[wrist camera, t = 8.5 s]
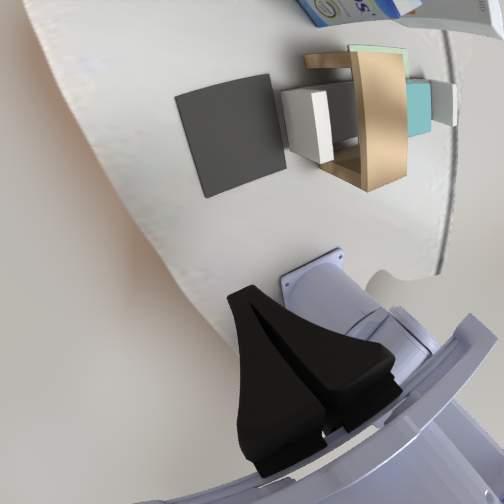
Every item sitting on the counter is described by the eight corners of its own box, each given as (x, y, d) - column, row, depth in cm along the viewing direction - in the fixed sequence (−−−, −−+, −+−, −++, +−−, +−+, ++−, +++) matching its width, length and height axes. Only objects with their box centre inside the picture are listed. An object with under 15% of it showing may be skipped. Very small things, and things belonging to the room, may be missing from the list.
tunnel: (359, 156, 25) (406, 175, 20) (320, 169, 24) (367, 192, 19) (349, 53, 18) (402, 53, 14) (303, 55, 17) (357, 51, 13)
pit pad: (285, 167, 22) (286, 168, 22) (206, 197, 21) (206, 198, 21) (267, 73, 17) (269, 73, 17) (175, 97, 16) (176, 97, 16)
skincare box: (380, -26, 14) (480, -31, 5) (404, -13, 15) (497, -11, 6) (386, 19, 17) (492, 26, 8) (409, 29, 19) (505, 41, 10)
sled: (430, 117, 26) (456, 125, 23) (290, 151, 21) (320, 163, 18) (428, 79, 23) (456, 84, 19) (279, 91, 18) (311, 93, 15)
